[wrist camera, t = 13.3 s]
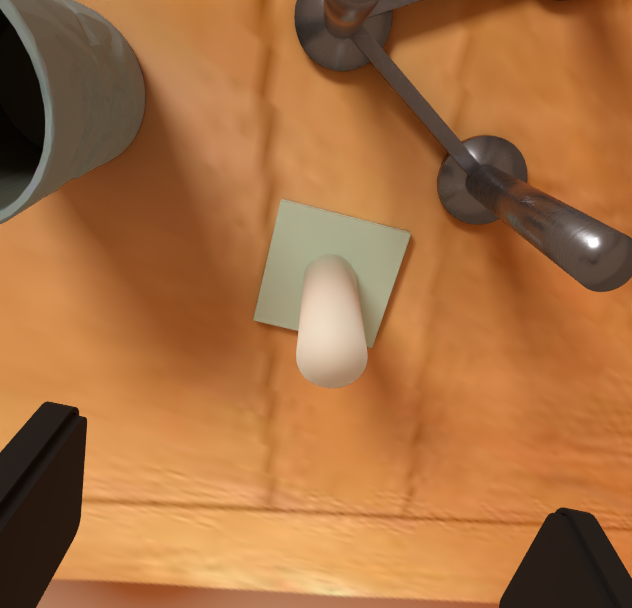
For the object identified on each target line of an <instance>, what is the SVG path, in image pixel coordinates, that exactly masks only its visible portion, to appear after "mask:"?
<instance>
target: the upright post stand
mask: <svg viewBox="0 0 632 608" xmlns="http://www.w3.org/2000/svg"><path fill="white" fill-rule="evenodd" d="M420 1H423V0H297V2H296V7H295V27H296V32H297V36H298V39H299V41H300V43H301V45H302V47H303V49H304V50H305V52H306V53H307V54H308V55H309V57H310V58H311V59H313V60H314V61H315V62H316V63H318V64H319V65H321V66H323V67H325V68H327V69H330V70H334V71H350V70H354V69H357V68H359V67H362V66H364V65H365V64H367V63H368V62H370V63H371V64H372V65H373V66H374V67H375V68H376V70H377V71H378V72H379V73H380V74H381V75H382V76H383V78H384V79H385V80H386V81H387V82H388V83H389V85H390V86H391V87H392V88H393V89H394V90H395V92H396V93H397V94H398V95H399V96H400V97H401V99H402V100H403V101H404V102H405V103H406V104H407V106H408V107H409V108H410V109H411V110H412V111H413V113H414V114H415V115H416V116H417V117H418V118H419V120H420V121H421V122H422V123H423V124H424V125H425V126H426V128H427V129H428V130H429V131H430V132H431V133H432V135H433V136H434V137H435V138H436V139H437V140H438V142H439V143H440V144H441V145H442V146H443V147H444V149H445V150H446V151H447V152H448V155H447V156H446V157H445V159H444V161H443V162H442V164H441V167H440V169H439V173H438V178H437V189H438V194H439V197H440V200H441V202H442V204H443V205H444V207H445V208H446V209H447V210H448V212H449V213H450V214H452V215H453V216H454V217H455V218H457V219H459V220H461V221H463V222H466V223H470V224H486V223H490V222H494V221H496V220H498V219H501V220H502V221H503V222H504V223H506V224H507V225H508V226H509V227H511V228H512V229H513V230H514V231H516V232H517V233H518V234H519V235H521V236H522V237H523V238H524V239H525V240H527V241H528V242H529V243H530V244H532V245H533V246H534V247H535V248H537V249H538V250H539V251H540V252H542V253H543V254H544V255H545V256H547V257H548V258H549V259H550V260H552V261H553V262H554V263H555V264H557V265H558V266H559V267H560V268H562V269H563V270H564V271H565V272H567V273H568V274H569V275H570V276H572V277H573V278H574V279H575V280H577V281H578V282H579V283H580V284H582V285H583V286H584V287H586V288H587V289H589V290H592V291H596V292H606V291H611V290H614V289H616V288H618V287H620V286H622V285H623V284H625V283H626V282H627V281H628V280H629V279H630V278H631V277H632V238H630V237H629V236H627V235H625V234H623V233H621V232H619V231H617V230H615V229H613V228H612V227H610V226H608V225H606V224H604V223H602V222H600V221H598V220H596V219H594V218H592V217H590V216H588V215H587V214H585V213H583V212H581V211H579V210H577V209H575V208H573V207H571V206H569V205H567V204H565V203H563V202H562V201H560V200H558V199H556V198H554V197H552V196H550V195H548V194H546V193H544V192H542V191H540V190H538V189H536V188H535V187H533V186H531V185H529V184H527V167H526V163H525V160H524V158H523V156H522V154H521V152H520V151H519V150H518V149H517V148H516V147H515V146H514V145H513V144H512V143H510V142H509V141H507V140H505V139H502V138H499V137H496V136H491V135H480V136H475V137H472V138H469V139H466V140H464V141H462V142H461V141H460V140H459V139H458V138H457V137H456V135H455V134H454V133H453V132H452V131H451V130H450V128H449V127H448V126H447V125H446V124H445V122H444V121H443V120H442V119H441V118H440V117H439V115H438V114H437V113H436V112H435V111H434V109H433V108H432V107H431V106H430V105H429V103H428V102H427V101H426V100H425V99H424V98H423V96H422V95H421V94H420V93H419V92H418V90H417V89H416V88H415V87H414V86H413V85H412V83H411V82H410V81H409V80H408V79H407V77H406V76H405V75H404V74H403V73H402V72H401V70H400V69H399V68H398V67H397V66H396V64H395V63H394V62H393V61H392V60H391V58H390V57H389V56H388V55H387V54H386V53H385V51H384V50H383V49H382V48H383V46H384V44H385V42H386V40H387V38H388V35H389V32H390V28H391V22H392V11H393V10H396V9H399V8H402V7H405V6H408V5H411V4H414V3H417V2H420ZM560 1H562V0H560Z"/></svg>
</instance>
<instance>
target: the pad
mask: <svg viewBox="0 0 632 608" xmlns="http://www.w3.org/2000/svg"><path fill="white" fill-rule="evenodd" d="M410 236H411V234H410V232H409V231H405V230H401V229H397V228H393V227H390V226H386V225H382V224H378V223H374V222H370V221H366V220H363V219H359V218H355V217H351V216H347V215H343V214H339V213H335V212H332V211H328V210H324V209H320V208H316V207H312V206H308V205H305V204H301V203H297V202H293V201H289V200H285V199H281V202H280V206H279V211H278V215H277V219H276V224H275V228H274V232H273V237H272V241H271V245H270V250H269V254H268V258H267V263H266V267H265V271H264V275H263V280H262V284H261V288H260V293H259V297H258V301H257V306H256V310H255V314H254V319H253V320H254V321H258V322H262V323H267V324H271V325H275V326H279V327H284V328H288V329H292V330H296V331H299V322H300V312H301V303H302V293H303V283H304V274H305V271H306V268H307V266H308V265H309V264H310V263H311V261H313V260H314V259H315V258H317V257H319V256H322V255H326V254H334V255H338V256H341V257H343V258H344V259H346V260H347V261H348V262H349V263H350V264H351V265H352V267H353V269H354V272H355V276H356V283H357V289H358V295H359V302H360V308H361V314H362V321H363V327H364V333H365V340H366V346H367V347H368V348H372V347H373V344H374V341H375V338H376V336H377V333H378V330H379V327H380V324H381V321H382V318H383V315H384V312H385V309H386V306H387V303H388V300H389V297H390V294H391V291H392V289H393V286H394V283H395V280H396V277H397V274H398V271H399V268H400V265H401V262H402V259H403V256H404V253H405V250H406V247H407V244H408V241H409V239H410Z"/></svg>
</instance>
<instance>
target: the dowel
mask: <svg viewBox="0 0 632 608" xmlns="http://www.w3.org/2000/svg"><path fill="white" fill-rule="evenodd" d="M296 361H297V366H298V368H299V370H300V372H301V374H302V375H303V376H304V377H305V378H306V379H307V380H308V381H310V382H311V383H313V384H315V385H317V386H320V387H324V388H340V387H344V386H347V385H349V384H351V383H353V382H354V381H355V380H357V379H358V378H359V377H360V376H361V375H362V373H363V372H364V370H365V368H366V365H367V361H368V352H367V346H366V340H365V333H364V327H363V321H362V314H361V308H360V302H359V295H358V289H357V283H356V276H355V272H354V269H353V267H352V265H351V264H350V263H349V262H348V261H347V260H346V259H344V258H343V257H341V256H338V255H334V254H326V255H322V256H319V257H317V258H315V259H314V260H313V261H311V263H310V264H309V265H308V266H307V268H306V271H305V274H304V283H303V293H302V303H301V312H300V322H299V332H298V342H297V352H296Z"/></svg>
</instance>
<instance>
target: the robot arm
mask: <svg viewBox="0 0 632 608" xmlns="http://www.w3.org/2000/svg"><path fill="white" fill-rule="evenodd" d="M86 431H87V419H86V417H82V416H79V410H78V408H76V407H72V406H67V405H63V404H58V403H53V402H48V401H47V402H45V403H43V404H42V405H41V406H40V407H39V409H38V410H37V411H36V412H35V413H34V414H33V415H32V417H31V418H30V419H29V420H28V421H27V422H26V424H25V425H24V426H23V427H22V428H21V429H20V430H19V432H18V433H17V434H16V435H15V436H14V437H13V439H12V440H11V441H10V442H9V443H8V444H7V445H6V447H5V448H4V449H3V450H2V451H1V452H0V608H36V606H37V604H38V603H39V601H40V599H41V597H42V596H43V594H44V592H45V590H46V588H47V587H48V585H49V583H50V581H51V579H52V578H53V576H54V574H55V572H56V570H57V568H58V567H59V565H60V563H61V561H62V559H63V558H64V556H65V554H66V552H67V550H68V548H69V547H70V545H71V543H72V541H73V539H74V537H75V535H76V533H77V530H78V527H79V524H80V518H81V505H82V490H83V476H84V461H85V446H86ZM499 608H632V578H631V577H630V575H629V573H628V572H627V570H626V568H625V566H624V565H623V563H622V561H621V560H620V558H619V556H618V555H617V553H616V551H615V550H614V548H613V546H612V545H611V543H610V541H609V539H608V538H607V536H606V534H605V533H604V531H603V529H602V528H601V526H600V524H599V523H598V521H597V519H596V518H595V517H594V516H593V515H592V514H590V513H588V512H583V511H578V510H573V509H568V508H559V509H557V511H556V512H555V513H551V514H549V515H548V516H547V518H546V519H545V521H544V523H543V525H542V526H541V528H540V530H539V532H538V534H537V535H536V537H535V539H534V541H533V542H532V544H531V546H530V548H529V550H528V551H527V553H526V555H525V557H524V558H523V560H522V562H521V564H520V566H519V567H518V569H517V571H516V573H515V574H514V576H513V578H512V580H511V582H510V583H509V585H508V587H507V589H506V590H505V592H504V594H503V596H502V598H501V600H500V604H499Z"/></svg>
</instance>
